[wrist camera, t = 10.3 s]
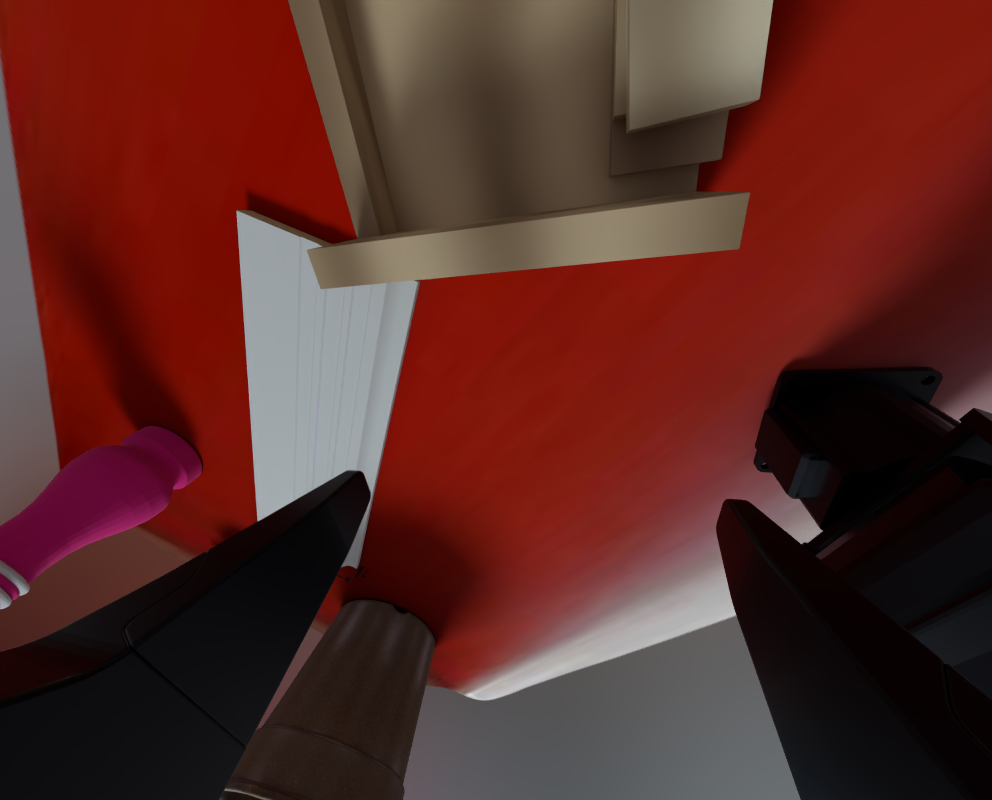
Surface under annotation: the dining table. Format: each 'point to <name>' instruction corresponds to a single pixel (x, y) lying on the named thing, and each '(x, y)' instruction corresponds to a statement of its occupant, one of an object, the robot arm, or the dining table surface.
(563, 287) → the dining table surface
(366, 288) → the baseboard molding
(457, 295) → the dining table surface
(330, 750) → the plant pot
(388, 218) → the rack
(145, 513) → the pepper mill
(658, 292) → the dining table surface
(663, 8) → the offcut stack
